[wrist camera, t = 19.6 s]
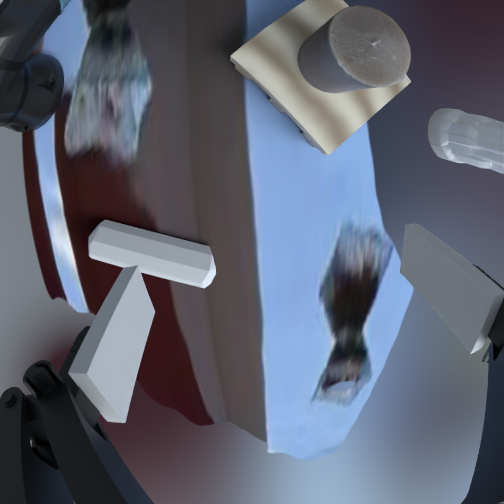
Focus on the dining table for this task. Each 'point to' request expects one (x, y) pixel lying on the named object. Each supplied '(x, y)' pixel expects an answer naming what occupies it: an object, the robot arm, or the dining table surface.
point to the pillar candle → (355, 52)
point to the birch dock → (297, 88)
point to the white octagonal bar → (152, 253)
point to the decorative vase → (467, 138)
